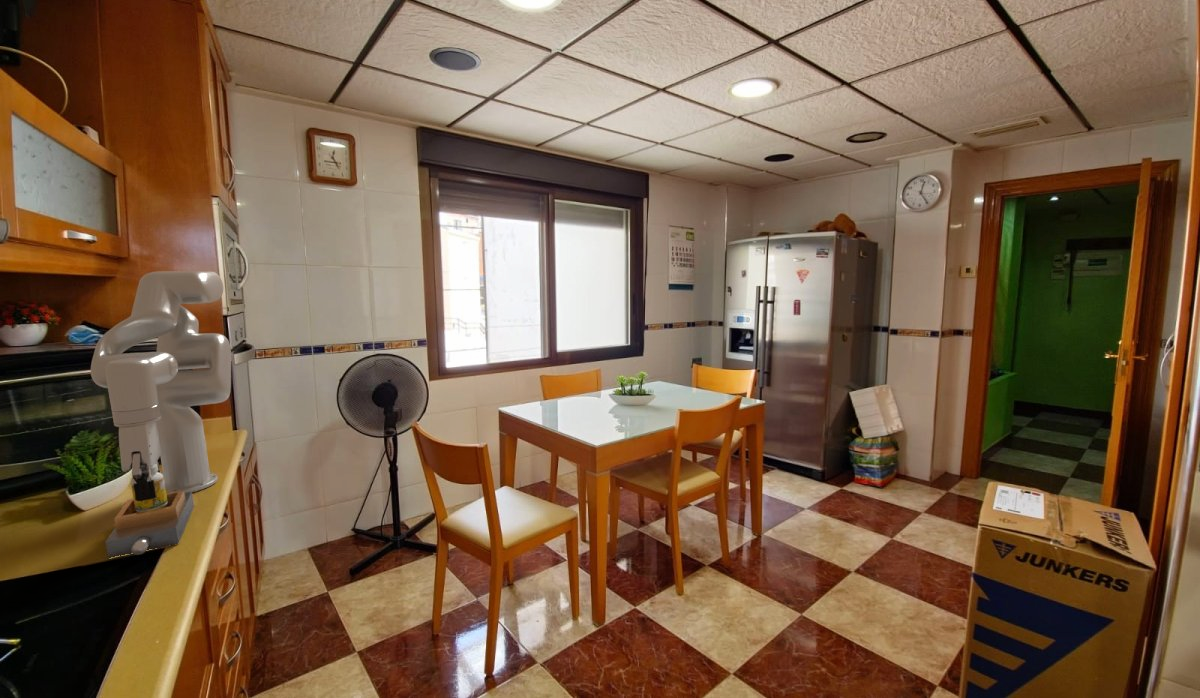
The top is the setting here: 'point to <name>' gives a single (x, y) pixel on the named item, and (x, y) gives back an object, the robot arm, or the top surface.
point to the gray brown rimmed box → (150, 526)
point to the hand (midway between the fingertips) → (149, 492)
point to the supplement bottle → (160, 491)
